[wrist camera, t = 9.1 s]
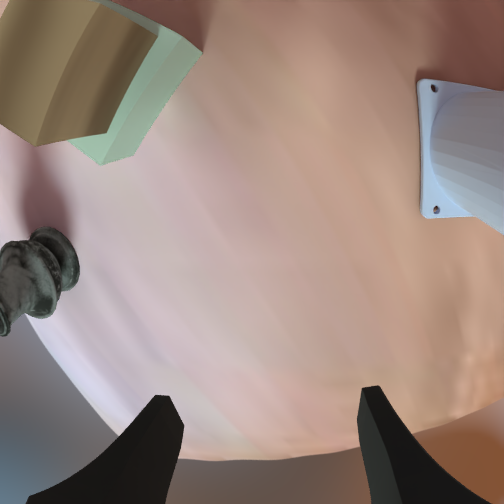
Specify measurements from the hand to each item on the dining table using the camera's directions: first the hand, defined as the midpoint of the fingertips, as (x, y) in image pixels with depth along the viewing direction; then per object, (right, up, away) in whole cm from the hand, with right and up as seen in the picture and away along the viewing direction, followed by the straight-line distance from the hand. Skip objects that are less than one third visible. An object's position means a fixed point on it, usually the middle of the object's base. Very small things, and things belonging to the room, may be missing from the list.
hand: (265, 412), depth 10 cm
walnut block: (-8, +15, +1) cm, 17 cm away
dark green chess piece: (-15, +5, +10) cm, 19 cm away
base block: (-8, +16, +4) cm, 18 cm away
